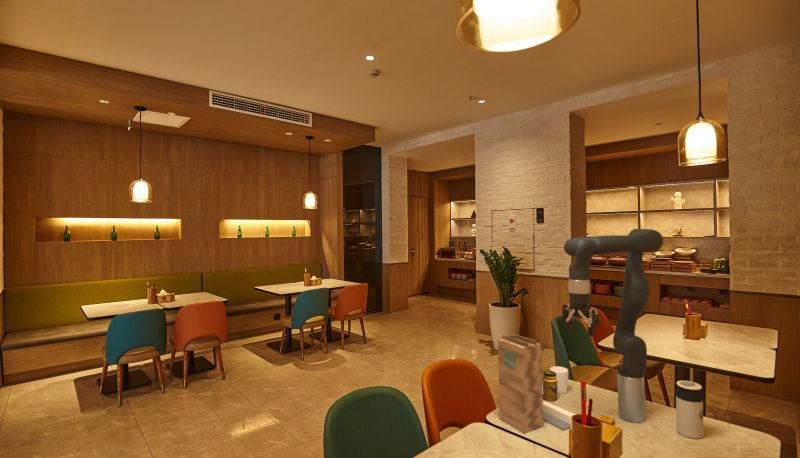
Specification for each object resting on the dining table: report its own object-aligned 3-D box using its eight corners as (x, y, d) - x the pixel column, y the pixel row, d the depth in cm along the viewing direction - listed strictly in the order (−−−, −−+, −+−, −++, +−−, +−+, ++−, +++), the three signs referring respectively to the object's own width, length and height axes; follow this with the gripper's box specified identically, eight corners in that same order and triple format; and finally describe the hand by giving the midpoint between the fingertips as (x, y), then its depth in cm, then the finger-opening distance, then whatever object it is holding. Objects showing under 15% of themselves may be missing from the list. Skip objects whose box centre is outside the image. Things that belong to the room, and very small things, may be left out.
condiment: (559, 403, 173) (558, 375, 172) (538, 401, 175) (537, 374, 175) (557, 396, 180) (557, 369, 179) (537, 394, 182) (537, 368, 182)
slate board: (545, 403, 172) (545, 402, 172) (584, 422, 156) (584, 420, 156) (525, 410, 167) (525, 409, 167) (563, 430, 150) (563, 429, 150)
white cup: (571, 394, 181) (571, 372, 181) (554, 394, 181) (553, 372, 181) (564, 387, 189) (564, 366, 189) (548, 387, 189) (547, 366, 189)
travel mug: (671, 431, 148) (670, 382, 147) (685, 426, 151) (684, 378, 151) (694, 441, 140) (693, 390, 140) (708, 436, 143) (707, 386, 143)
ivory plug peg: (545, 408, 167) (545, 401, 167) (586, 427, 151) (586, 419, 151) (540, 410, 165) (540, 403, 165) (581, 429, 149) (581, 421, 149)
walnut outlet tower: (518, 413, 165) (516, 332, 164) (543, 426, 153) (541, 339, 153) (499, 419, 160) (497, 336, 159) (523, 434, 148) (521, 344, 148)
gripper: (603, 292, 146) (604, 336, 146) (570, 287, 158) (571, 328, 158) (589, 294, 142) (591, 340, 142) (556, 289, 154) (558, 331, 155)
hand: (580, 334), depth 150 cm, fingers open, 8 cm apart
